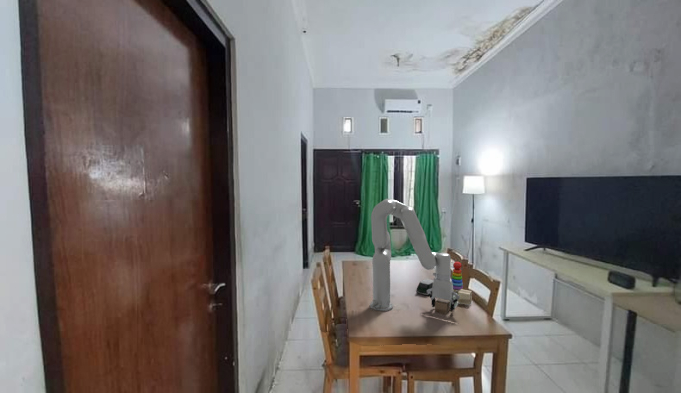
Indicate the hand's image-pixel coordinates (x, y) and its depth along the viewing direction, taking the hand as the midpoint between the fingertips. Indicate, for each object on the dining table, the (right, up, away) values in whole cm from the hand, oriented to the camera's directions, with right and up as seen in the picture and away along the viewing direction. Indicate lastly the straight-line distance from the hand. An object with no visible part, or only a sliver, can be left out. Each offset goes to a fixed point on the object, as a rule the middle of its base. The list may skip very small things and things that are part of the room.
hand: (442, 308), depth 162 cm
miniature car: (+1, -1, +29) cm, 29 cm away
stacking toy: (+19, 0, +31) cm, 36 cm away
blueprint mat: (+13, -1, +9) cm, 16 cm away
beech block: (+16, -1, +12) cm, 20 cm away
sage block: (+7, -1, +9) cm, 11 cm away
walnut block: (0, -2, 0) cm, 2 cm away
